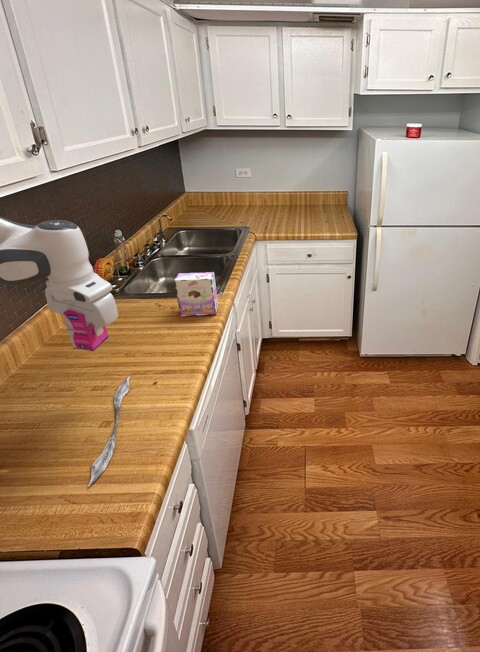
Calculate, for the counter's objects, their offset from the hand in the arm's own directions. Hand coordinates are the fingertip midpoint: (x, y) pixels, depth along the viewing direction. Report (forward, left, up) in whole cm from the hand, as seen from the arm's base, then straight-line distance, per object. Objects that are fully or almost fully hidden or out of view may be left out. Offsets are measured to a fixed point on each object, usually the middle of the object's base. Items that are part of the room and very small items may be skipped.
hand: (88, 330), depth 86 cm
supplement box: (0, 0, -4) cm, 4 cm away
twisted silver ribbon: (+9, -6, -22) cm, 25 cm away
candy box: (-1, +42, -22) cm, 48 cm away
